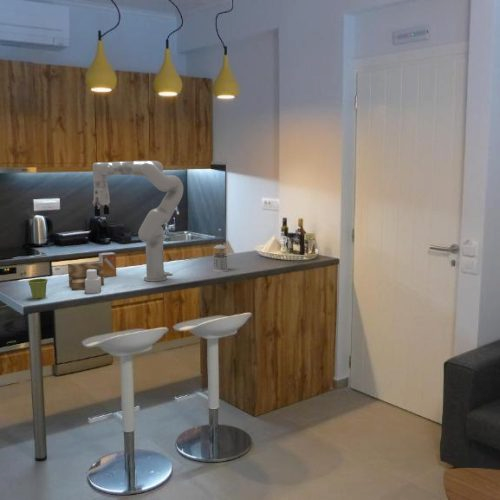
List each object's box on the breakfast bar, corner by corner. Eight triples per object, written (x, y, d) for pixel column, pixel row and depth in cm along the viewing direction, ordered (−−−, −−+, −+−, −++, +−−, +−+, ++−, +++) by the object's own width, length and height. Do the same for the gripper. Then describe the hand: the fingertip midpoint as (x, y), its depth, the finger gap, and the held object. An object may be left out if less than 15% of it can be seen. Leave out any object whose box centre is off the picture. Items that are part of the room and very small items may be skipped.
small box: (103, 277, 353) (102, 254, 351) (99, 275, 358) (98, 253, 356) (116, 275, 358) (115, 253, 355) (112, 273, 363) (111, 251, 361)
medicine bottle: (87, 290, 321) (86, 267, 319) (101, 290, 322) (100, 267, 320) (85, 293, 314) (83, 270, 312) (99, 293, 315) (98, 270, 313)
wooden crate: (103, 284, 335) (102, 262, 333) (103, 288, 325) (102, 266, 323) (69, 286, 331) (68, 264, 329) (68, 290, 321) (66, 267, 319)
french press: (226, 267, 378) (225, 227, 373) (231, 271, 367) (231, 229, 362) (210, 269, 375) (209, 228, 370) (215, 272, 364) (214, 230, 360)
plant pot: (39, 300, 301) (38, 283, 299) (24, 298, 304) (23, 281, 303) (53, 296, 309) (51, 279, 308) (38, 294, 313) (37, 277, 311)
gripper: (98, 185, 336) (100, 217, 339) (114, 183, 353) (115, 213, 356) (86, 185, 339) (87, 216, 341) (102, 183, 355) (104, 213, 358)
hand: (102, 215), depth 348 cm, fingers open, 9 cm apart
